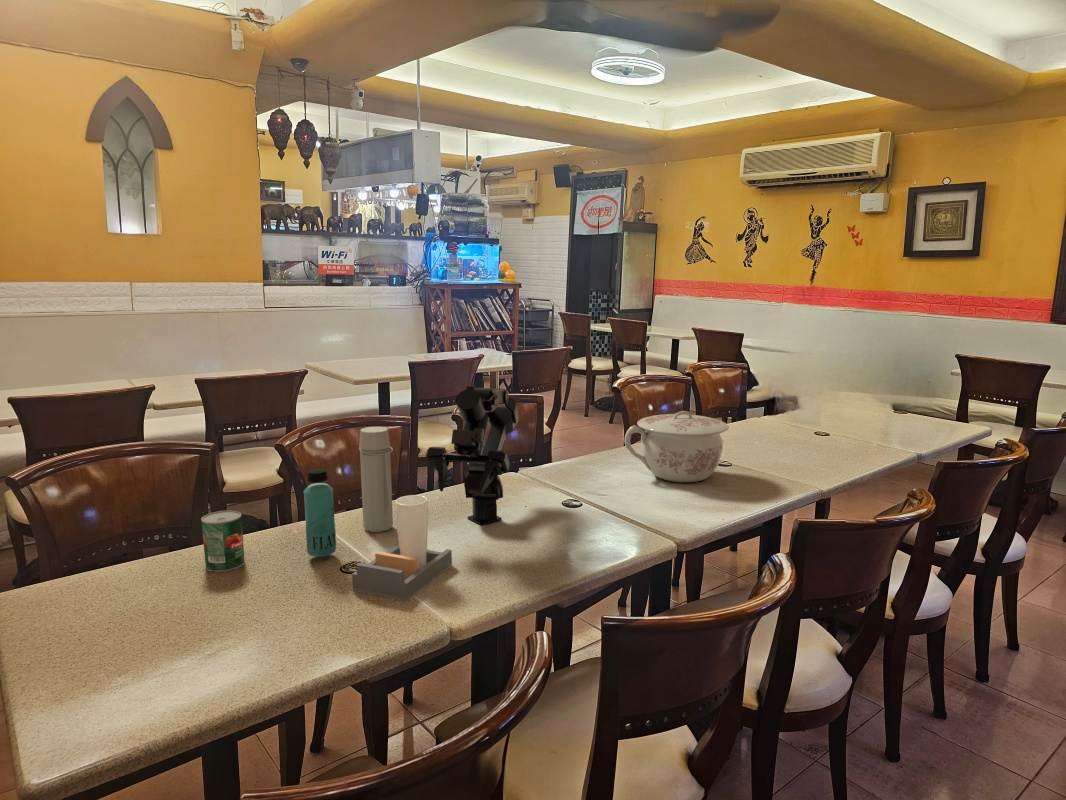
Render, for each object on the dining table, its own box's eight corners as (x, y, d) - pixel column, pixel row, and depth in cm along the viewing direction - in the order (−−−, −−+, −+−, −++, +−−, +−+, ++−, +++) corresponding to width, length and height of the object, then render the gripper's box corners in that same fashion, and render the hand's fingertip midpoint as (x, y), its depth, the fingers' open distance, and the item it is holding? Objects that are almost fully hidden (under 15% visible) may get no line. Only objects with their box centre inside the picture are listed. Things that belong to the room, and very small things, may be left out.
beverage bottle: (309, 565, 153) (304, 476, 149) (304, 554, 159) (298, 468, 155) (340, 560, 156) (335, 472, 152) (333, 549, 162) (329, 464, 158)
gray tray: (402, 556, 158) (401, 532, 157) (451, 565, 153) (451, 540, 152) (352, 590, 141) (351, 563, 140) (406, 601, 137) (405, 573, 136)
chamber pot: (738, 472, 223) (741, 408, 219) (709, 496, 200) (712, 424, 196) (654, 460, 238) (656, 399, 234) (618, 480, 215) (620, 413, 211)
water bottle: (356, 528, 175) (351, 429, 170) (382, 520, 180) (379, 424, 176) (378, 538, 169) (373, 435, 164) (405, 529, 174) (401, 430, 170)
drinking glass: (409, 577, 146) (406, 507, 143) (391, 567, 151) (388, 499, 148) (436, 567, 150) (434, 500, 148) (418, 558, 155) (416, 492, 153)
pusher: (379, 574, 147) (378, 551, 146) (418, 581, 143) (417, 558, 143) (376, 576, 146) (375, 553, 145) (415, 583, 142) (414, 560, 141)
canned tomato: (205, 560, 156) (201, 513, 154) (244, 555, 159) (240, 508, 157) (205, 575, 148) (200, 525, 146) (245, 568, 151) (241, 519, 149)
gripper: (427, 412, 164) (411, 472, 155) (506, 416, 160) (493, 477, 151) (439, 438, 173) (424, 495, 164) (514, 442, 169) (503, 501, 160)
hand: (460, 492), depth 160 cm, fingers open, 9 cm apart
